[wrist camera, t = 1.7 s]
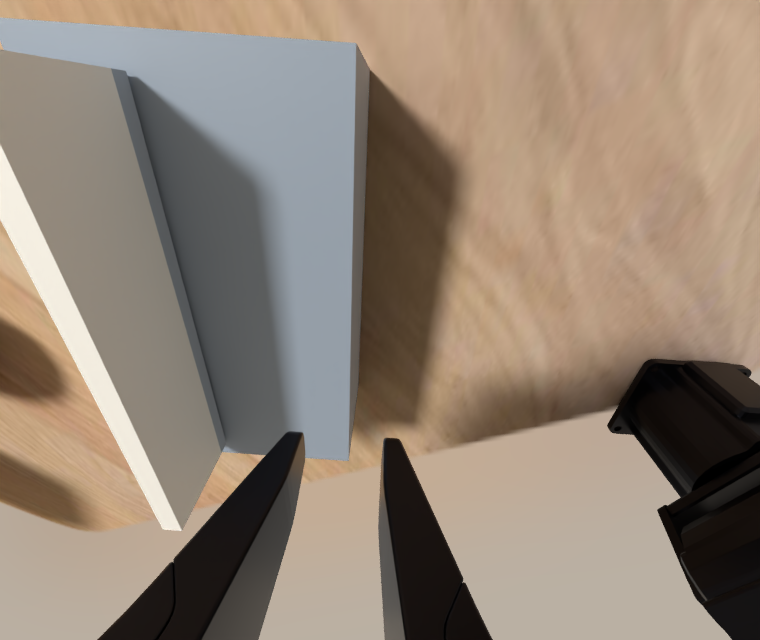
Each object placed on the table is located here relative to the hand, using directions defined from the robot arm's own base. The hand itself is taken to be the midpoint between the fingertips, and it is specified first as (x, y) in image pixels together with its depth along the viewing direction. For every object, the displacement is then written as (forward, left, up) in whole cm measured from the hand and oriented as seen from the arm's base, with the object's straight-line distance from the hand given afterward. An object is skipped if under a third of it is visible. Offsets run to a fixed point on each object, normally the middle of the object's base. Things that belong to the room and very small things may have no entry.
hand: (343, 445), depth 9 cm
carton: (0, +5, -12) cm, 13 cm away
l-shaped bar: (0, +9, -6) cm, 10 cm away
